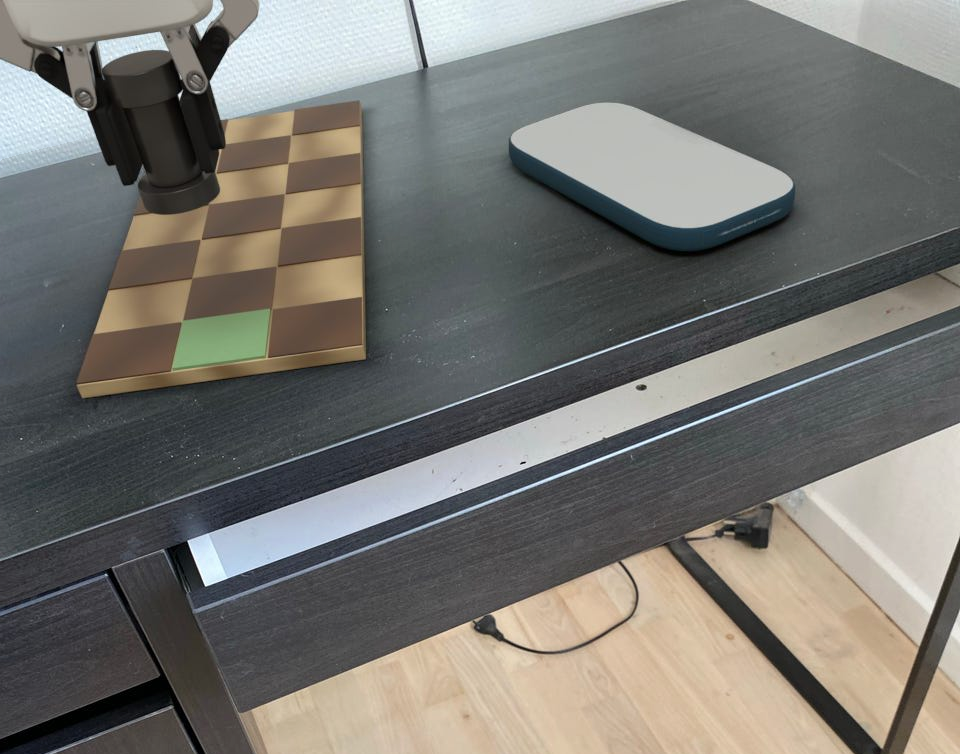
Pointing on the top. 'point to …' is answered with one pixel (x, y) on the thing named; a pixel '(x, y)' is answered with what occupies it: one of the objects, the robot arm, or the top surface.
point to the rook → (159, 132)
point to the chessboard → (246, 258)
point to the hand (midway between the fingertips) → (171, 166)
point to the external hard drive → (652, 175)
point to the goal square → (222, 339)
